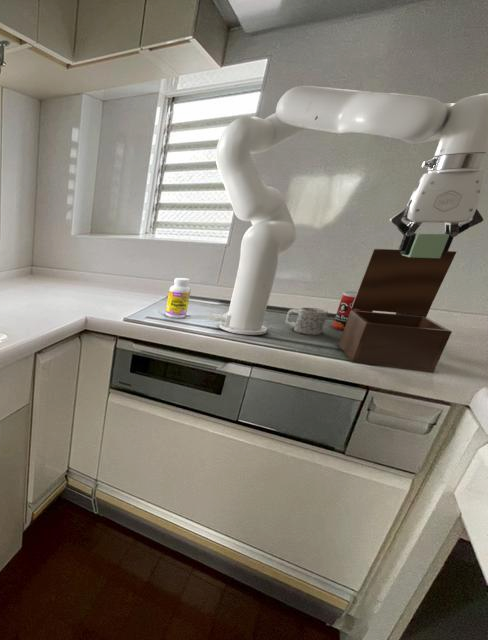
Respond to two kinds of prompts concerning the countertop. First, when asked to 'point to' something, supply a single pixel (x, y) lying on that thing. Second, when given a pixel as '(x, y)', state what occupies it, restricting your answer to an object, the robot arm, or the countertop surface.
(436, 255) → the block
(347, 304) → the canned food
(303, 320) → the mug
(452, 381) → the countertop surface
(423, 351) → the chest
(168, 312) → the supplement bottle
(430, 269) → the lid
